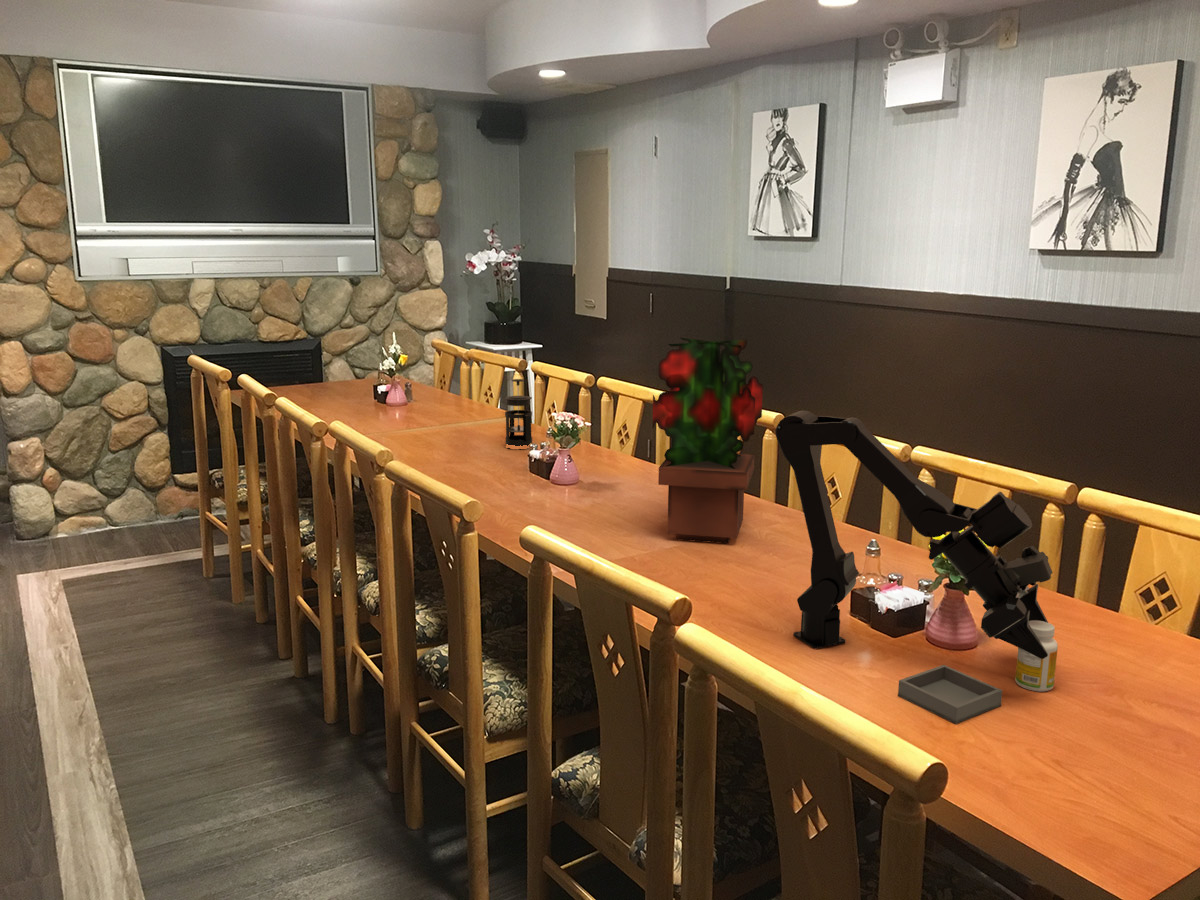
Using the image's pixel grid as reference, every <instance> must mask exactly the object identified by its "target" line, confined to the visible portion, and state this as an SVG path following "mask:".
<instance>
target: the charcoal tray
mask: <svg viewBox="0 0 1200 900" xmlns="http://www.w3.org/2000/svg"><path fill="white" fill-rule="evenodd" d="M897 696H898V697H899V698H902V699H904V701H905V700H906V701H908V702H910V703H912V704H913V705H916V706H917V707H920V708H922V709H924V710H925V711H928V712H930V713H932V714H934V715H937V716H938V717H941V718H942V719H944V720H946V721H948V722H950V723H952V724H954V725H957V724H960V723H963V722H966V721H968V720H970V719H973V718H975V717H977V716H980V715H983V714H985V713H988V712H990V711H993V710H995V709H997V708H999V707H1001V706H1002V701H1003V700H1002V699H1003V689H1001V688H998V687H996V686H994V685H992V684H990V683H987V682H986V681H983V680H980V679H977V678H975V677H974V676H971V675H968V674H966V673H964V672H962V671H960V670H957V669H955V668H952V667H950V666H947V665H946V664H941V665H939V666H936V667H933V668H930V669H927V670H924V671H922V672H918V673H916V674H913V675H910V676H907V677H905V678H902V679H899V680H898V688H897Z"/></svg>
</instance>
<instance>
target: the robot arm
mask: <svg viewBox="0 0 1200 900" xmlns="http://www.w3.org/2000/svg"><path fill="white" fill-rule="evenodd" d="M775 438H776V440H777V443H778V444H779V445H778V446H779V448H780V451H781V453H782V455H783V456H784V458H785V460H786V461H787V463H788V464H789V465H790V467H791V468H792V470H793V472H794V476H795V481H796V487H797V490H798V495H799V498H800V503H801V507H802V511H803V516H804V519H805V523H806V530H807V533H808V538H809V540H810V541H809V543H810V546H811V550H812V551H811V552H812V555H811V565H810V586H809V587H808V588H807V589H805V591H804V592H803V593H801V594H800V595H799V596H798V598H797V600H796V602H797V605H798V608H799V610H800V611H801V619H800V620H801V622H800V623H801V624H800V630H799V631H794V632H793V634H792V635H793V637H795V638H797V640H800V641H802V642H803V643H805V644H806V645H808V646H809V647H811V648H813V649H822V648H823V649H824V648H827V647H832V646H837V645H842V644H843V645H844V644H846V639H845V638H843V637H842V636H840V629H841V619H840V615H841V609H840V608H839V605H838V604H840V603H842V602H843V601H844V600H845V598H846V597H847V596H848V595H849V593H850V592H852V590H853V589H854V587H855V586H856V583H857V577H858V576H859V574H860V572H859V570H858V569H857V567H856V562H855V553H854V551H850V552H845V550H844V549H843V547H842V546H841V545H840V541H839V539H838V534H837V529H836V526H835V521H834V517H833V513H832V508H831V504H830V499H829V495H828V491H827V487H826V483H825V482H826V481H825V477H824V474H823V469H822V465H821V458H822V457H821V456H822V449H823V446H826V445H828V446H829V445H843V446H844V447H845V448H846V449H848V451H849V452H850V453H851V454H852V455H854V457H855V458H856V459H857V460H858V461H859V462H860V463H861V464H862V465H863V466H864V467H865V468H866V469H867V470H868V471H869V472H870V473H871V474H872V475H873V476H874V477H875V478H876V479H877V480H878V481H879V482H880V483H881V484H882V485H883V486H884V487H885V488H886V489H887V490H888V491H889V492H890V493H891V494H892V495H893V496H894V498H895V499H896V500H897V502H898V503H899V506H900V508H901V510H902V512H903V514H904V515H905V517H906V518H907V519H908V521H909V522H910V524H911V525H912V527H913V528H914V529H915V531H916V532H917V533H918V534H919V535H920V536H922V537H925V538H932V539H931V540H930V541H929V543H928V545H929V553H928V560H930V561H931V560H935V558H937V557H938V556H940V555H941V554H943V556H944V557H945V558H946V559H947V560H948V561H949V562H950V564H951V565H952V566H953V567H954V569H955V570H956V571H958V573H959V574H960V575H961V577H962V578H963V579H964V581H965V582H964V584H963V585H964V587H966V588H967V590H970V589H971V588H972V590H973V591H974V592H975V593H976V594H977V595H978V596H979V597H980V599H981V600H982V601H983V604H982V607H983V608H984V609H985V612H984V614H983V616H982V617H981V623H980V625H981V626H980V629H981V630H982V631H983V632H984V633H985V634H986V635H987V637H988V638H989V639H990V638H994V639H996V640H998V639H999V640H1001V641H1003V642H1006V643H1008V644H1010V645H1012V646H1014V647H1017V648H1020V649H1023V650H1025V651H1027V652H1029V653H1031V654H1033V655H1035V656H1037V657H1039V658H1041V659H1044V658H1046V657H1047V656H1048V653H1047V652H1046V650H1045V648H1044V647H1043V645H1042V644H1041V642H1040V641H1039V639H1038V638H1037V636H1036V634H1035V633H1034V631H1033V630H1032V628H1031V627H1030V625H1029V621H1032V620H1037V621H1044V622H1048V623H1049V621H1048V619H1047V617H1046V616H1045V613H1044V612H1043V609H1042V608H1041V606H1040V604H1039V601H1038V590H1039V583H1044V582H1048V581H1049V580H1051V578H1052V574H1053V571H1052V567H1051V565H1050V562H1049V557H1048V555H1047V554H1046V553H1045V552H1044V551H1040V550H1038V549H1037V548H1036V547H1035V546H1034V545H1031V546H1027V547H1023V549H1022V552H1021V557H1016V559H1014V560H1011V561H1007V560H1006V558H1005V557H1004V556H1002V555H1001V556H1000V555H997V556H995V554H994V553H993V552H992V551H991V550H990V549H989V548H990V547H991V548H994V547H997V548H999V549H1001V548H1004V547H1005V546H1006V545H1008V544H1009V543H1011V542H1012V541H1013V540H1015V539H1017V538H1018V537H1019V536H1021V535H1022V534H1024V533H1026V531H1028V530H1030V529H1031V528H1032V527H1033V523H1032V520H1031V519H1030V517H1029V515H1028V514H1027V513H1026V511H1025V510H1024V509H1023V507H1022V506H1021V505H1020V504H1019V503H1018V504H1017V503H1016V502H1015V501H1013V500H1012V499H1011V498H1010V497H1008V496H1006V495H1005V494H1004V493H1003V492H1002V491H998V492H997V493H996V494H994V495H993V496H992V497H991V498H990V500H988V501H987V502H986V503H984V504H982V506H980V507H979V508H974V507H971V506H967V505H962V504H960V503H956V502H954V501H953V500H952V499H951V498H950V497H949V496H947V495H946V494H945V493H943V492H941V491H940V490H938V489H937V488H936V487H934V486H933V485H931V484H929V483H926V482H924V481H923V480H921V479H920V478H918V477H917V476H915V475H914V474H913V473H912V472H911V471H910V470H909V469H908V468H907V467H906V466H905V465H904V463H902V462H901V461H900V460H899V458H897V457H896V456H895V455H894V454H893V453H892V452H891V451H890V450H889V449H888V448H887V447H886V446H885V445H884V444H883V443H882V442H881V441H880V440H879V439H878V438H877V437H876V436H875V435H874V434H873V432H871V431H870V430H869V429H868V428H867V427H866V426H865V425H864V422H862V420H861V419H859V418H857V417H853V416H852V417H837V416H831V415H829V416H828V415H824V416H823V415H816V414H814V413H813V412H811V411H808V410H799V411H797V412H794V413H791V414H790V415H788V416H787V415H786V416H785V417H783V418H782V419H781V420H779V422H778V424H777V426H776V427H775ZM947 533H948V534H947ZM944 534H946V535H945V536H943V535H944ZM941 536H943V537H942V538H941V539H935V538H938V537H941ZM1029 586H1031V587H1029Z"/></svg>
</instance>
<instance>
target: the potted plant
mask: <svg viewBox="0 0 1200 900" xmlns="http://www.w3.org/2000/svg"><path fill="white" fill-rule="evenodd" d="M680 339H681V340H682V341H687V342H683V343H668V344H667V345H668V346H670V347H678V349H671V350H669V351H668V352H667V353H666V357H665V358H662V359H661V360H660V361H659V363H658V377H659V379H660V380H661V381H664V382H665V384H666V387H668V388H669V391H663V392H661V393H660V394H659V395H658V399H656V398H655V397H656V396H655V395H654V394H652V429H654V428H655V425H656V424H657V427H658V428H659V429H660V430H663V431H664V433H665V436H666V437H669V438H671V447H669V448H668V449H666V450H665V452H664V455H663V456H664V458H665V459H664V461H662V463H661V464H660V465H659V466H658V485H659V486H668V490H667V491H668V492H667V498H668V500H667V534H673V535H677V536H676V537H677V539H683V540H682V541H690V540H695V541H694V542H703V541H710V542H709V543H717V542H721V543H720V544H730V541H731V539H737V538H738V535H739V533H740V529H741V527H742V524H743V520H744V505H745V501H744V500H745V491H747V490H748V487H749V485H750V482H751V479H752V477H753V473H754V470H755V454H753V453H739V452H741V451H742V450H743V448H744V443H747V442H749V440H750V437H751V436H754V435H755V426H756V425H757V422H758V420H759V419H762V417H763V395H764V394H763V393H764V390H763V389H764V384H763V383H760V382H759V379H758V377H757V376H755V375H754V376H750V378H749V380H748V383H747V374H750V373H751V372H752V370H753V368H754V367H753V363H752V362H751V361H749V360H742V361H741V359H740V356H739V355H740V354H741V352H742V351H743V350H745V349H746V348H747V345H748V339H735V340H734V339H733V340H721V341H720V340H718V341H717V340H716V341H709V340H704V339H703V340H702V339H694V338H688V337H687V338H686V337H680ZM721 346H723V347H724V349H722V350H721ZM739 437H740V438H741V439H738V438H739Z"/></svg>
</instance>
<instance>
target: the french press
mask: <svg viewBox="0 0 1200 900" xmlns="http://www.w3.org/2000/svg"><path fill="white" fill-rule="evenodd" d="M511 381H512V382H515V383H516V386H517V395H511V396H510V395H509V396H506V397H504V400H505V405H506V406H510V407H512V406H513V407H517V409H511V410H506V411H505V412H504V417H505V433H506V434H505V445H506V444H508V445H515V446H520V445H521V446H523V445H527V446H528V445H529V444H530V443H532V444H533V436H532V417H533V412H532V410H526V409H520V407H523V406H525V407H526V406H530V405H531V400H532V398H533V397H532V396H528V395H520V393H519V391H520V390H519V387H520V383H521V382H525V380H524V379H520V378H517V379H516V378H514V379H512V380H511ZM515 419H517V426H515ZM520 419H522V421H523V422H522V425H521V424H520ZM515 433H522V434H515Z"/></svg>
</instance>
